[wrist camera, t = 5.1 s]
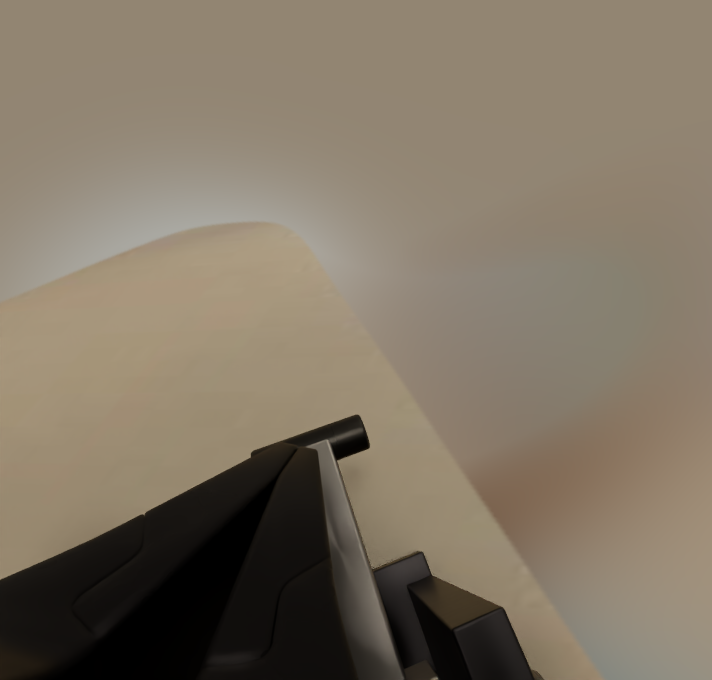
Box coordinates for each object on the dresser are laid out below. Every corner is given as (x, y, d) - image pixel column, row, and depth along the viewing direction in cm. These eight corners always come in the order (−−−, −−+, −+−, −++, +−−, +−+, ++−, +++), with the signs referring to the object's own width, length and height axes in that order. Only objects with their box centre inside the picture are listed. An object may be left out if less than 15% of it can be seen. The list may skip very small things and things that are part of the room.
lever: (264, 465, 12) (238, 437, 10) (360, 430, 12) (356, 396, 10) (359, 904, 7) (350, 1020, 5) (508, 827, 8) (552, 907, 6)
